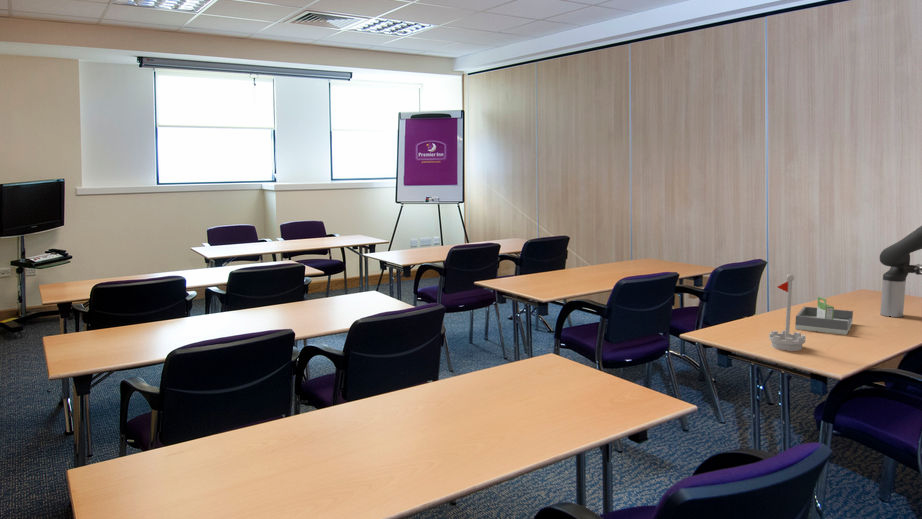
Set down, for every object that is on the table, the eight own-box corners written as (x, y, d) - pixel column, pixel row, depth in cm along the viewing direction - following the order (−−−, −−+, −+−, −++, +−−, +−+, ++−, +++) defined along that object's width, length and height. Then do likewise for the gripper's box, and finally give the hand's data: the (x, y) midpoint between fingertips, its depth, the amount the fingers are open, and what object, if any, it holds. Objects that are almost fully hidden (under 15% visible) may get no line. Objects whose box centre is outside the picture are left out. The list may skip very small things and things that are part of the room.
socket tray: (803, 318, 306) (804, 306, 305) (852, 323, 294) (852, 311, 293) (795, 329, 287) (795, 316, 286) (846, 334, 275) (847, 321, 274)
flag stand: (793, 342, 265) (797, 271, 261) (811, 351, 252) (815, 276, 248) (762, 343, 264) (765, 271, 260) (779, 352, 252) (782, 277, 248)
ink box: (833, 328, 287) (834, 299, 285) (824, 328, 287) (825, 299, 285) (824, 324, 294) (826, 296, 292) (815, 324, 294) (817, 296, 292)
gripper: (951, 260, 270) (904, 257, 279) (952, 264, 259) (903, 261, 268) (950, 277, 271) (903, 274, 280) (950, 282, 260) (902, 279, 269)
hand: (903, 268), depth 274 cm, fingers open, 8 cm apart
